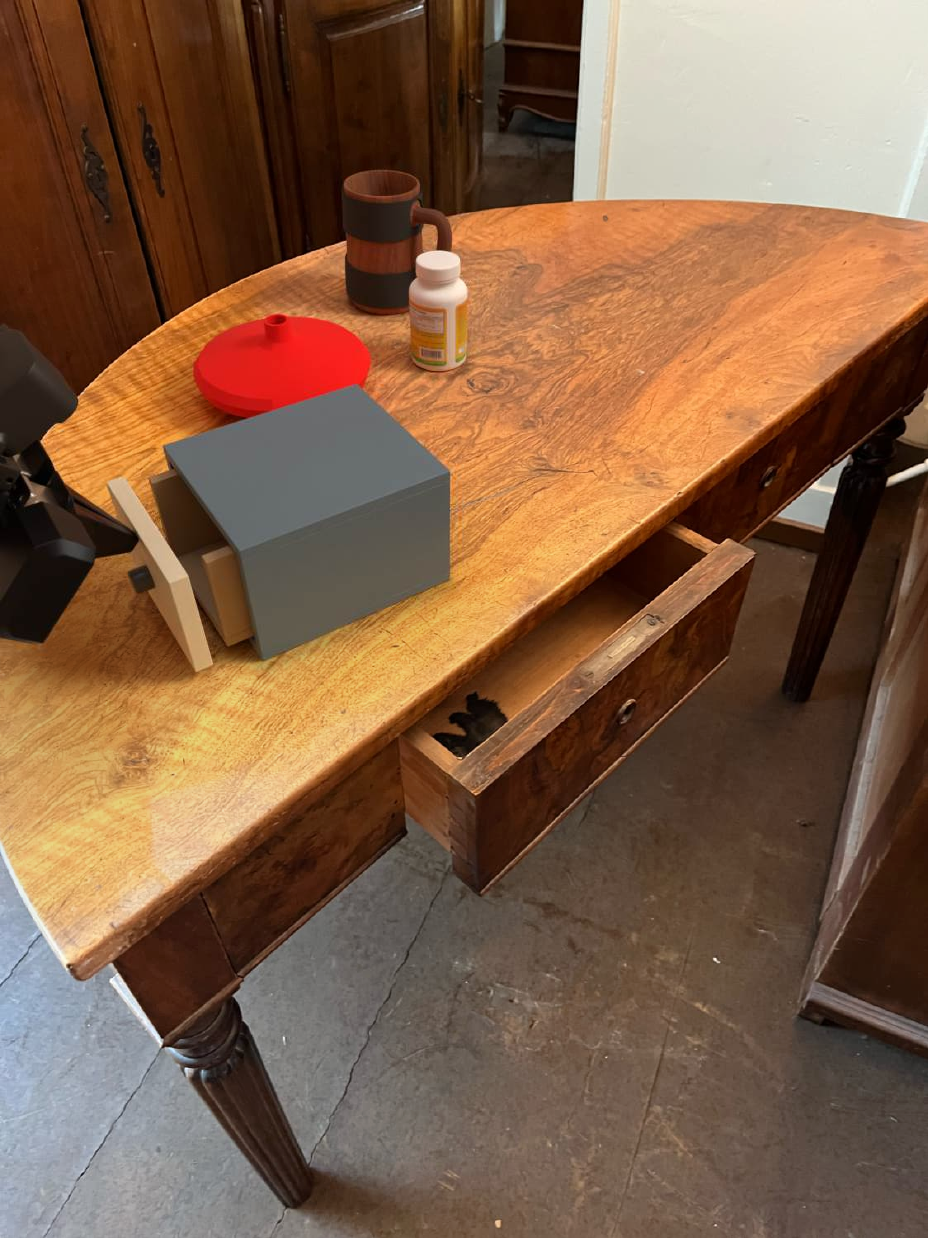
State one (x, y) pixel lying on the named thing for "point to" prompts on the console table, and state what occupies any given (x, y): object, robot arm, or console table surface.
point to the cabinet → (321, 512)
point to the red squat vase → (278, 364)
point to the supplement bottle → (438, 312)
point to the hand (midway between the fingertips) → (134, 542)
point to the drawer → (184, 565)
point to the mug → (385, 238)
